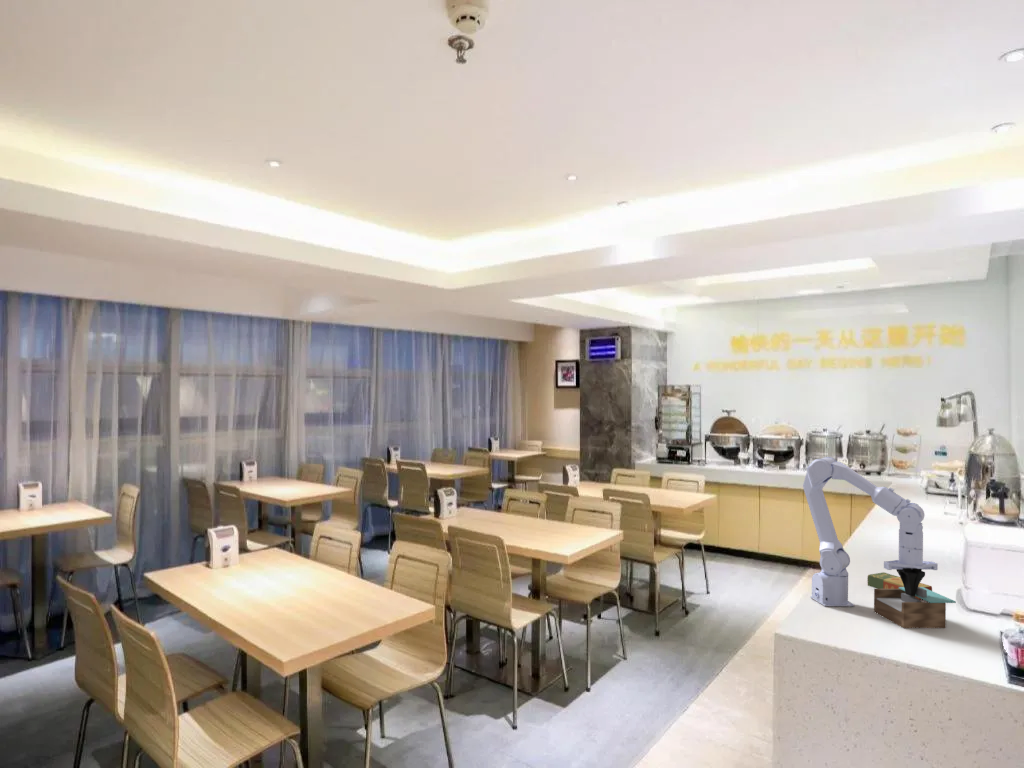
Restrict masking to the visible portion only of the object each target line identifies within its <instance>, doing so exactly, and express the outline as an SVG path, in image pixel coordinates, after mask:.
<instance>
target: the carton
mask: <svg viewBox="0 0 1024 768" xmlns="http://www.w3.org/2000/svg"><path fill="white" fill-rule="evenodd" d="M867 586H868V587H871V588H873V589H899V587H904V585H903V582H902V580H901V577H900V576H897V575H894V574H891V573H887V572H884V571H882V572H876V573H871V574H868V575H867ZM918 587H924V588H926V589H928V590H931V591H933V587H932V585H929V584H926V583H922V582H920V583H919V585H918ZM915 598H917V599H919V600H921V598H919V597H916V596H915ZM921 601H922V600H921Z"/></svg>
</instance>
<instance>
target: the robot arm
mask: <svg viewBox="0 0 1024 768" xmlns="http://www.w3.org/2000/svg"><path fill="white" fill-rule="evenodd" d="M831 479H832V480H838V481H839V480H840V481H845V482H847V483H849V484H850V485H852V486H854V487H856V488H857V489H858V490H860V491H863V492H864V493H866V494H867V495H869V496H870V497H871V502H872V503H874V504H875V505H876V506H878V507H880V508H881V509H883V510H885V511H886V512H888V513H889V514H891V515H892V516H893V517H894V516H896V519H897V520H898V522H899V529H898V559H895V560H889V561H883V569H885V570H887V571H892V570H896V572H897V573H898V575H899V577H901V580H902V582H903V585H904V588H905V592H906V594H907V595H909V596H915V594H916V591H917V588H918V585H919V583H922V580H923V578H925V576H926V572H925V571H923V570H933V571H938V569H939V567H938V564H939V563H937V562H934V561H928V560H927V561H926V560H924V532H923V529H924V526H923V521H924V518H925V511H924V509H923V507H921V506H920V505H919V504H917V503H915V502H911V500H910V499H909V498H907V499H906V498H904V497H902V496H901V495H900V494H898V493H896V492H895V489H894V488H892V487H887V486H877V485H875V484H874V483H872V482H871V481H870V480H868V479H867V478H865V477H864V476H863V475H861V474H860V473H858V472H856V471H855V470H854V469H852V468H851V467H849V466H848V465H846V464H845V463H843V462H841V461H838V460H837V459H835V458H834V457H831V456H824V457H822V458H821V457H820V458H816V459H814V460H812V461H811V462H810V463H809V465H808V466H807V467H806V473H805V477H804V481H803V484H802V488H803V491H804V495H805V498H806V501H807V506H808V508H809V511H810V515H811V518H812V521H813V525H814V528H815V531H816V534H817V537H818V541H819V549H818V552H819V557H820V558H819V565H820V569H821V571H820V572H816V573H815V572H814V574H813V575H812V577H811V595H810V597H809V598H810V599H813V600H814V601H816V602H817V603H819V605H820V604H821V605H822V606H823V607H855V606H856V604H854V603H853V602H851V601H849V572H848V570H847V568H848V567H849V566H850V563H851V558H850V556H849V553H848V552H846V550H845V549H844V547H843V544H842V542H841V541H840V540H839V539H838V535H837V532H836V529H835V525H834V522H833V518H832V516H831V512H830V510H829V507H828V504H827V500H826V497H825V494H824V491H823V489H824V487H825V486H826V484H827V483H828V481H830V480H831Z"/></svg>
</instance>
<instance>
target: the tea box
mask: <svg viewBox="0 0 1024 768" xmlns="http://www.w3.org/2000/svg"><path fill="white" fill-rule="evenodd" d="M873 591H874V592H873V613H875V612H876V613H875V614H877V613H878V614H877V615H879V616H880V615H881V617H882V616H883V617H882V618H883V619H886V620H888V621H889V622H891V623H893V624H896V625H897V626H899V627H900V626H901V627H900V628H902V627H903V628H902V629H946V625H947V624H946V615H947V614H946V613H947V612H946V610H947V603H929V602H927V601H924V602H923V601H921V602H902V612H901V611H899V610H897V609H895V608H893V607H891V606H889V605H887V604H885V603H883V602H881V601H879V600H877V598H901V593H906V592H905V591H903V590H901V589H877V588H873ZM912 597H914V598H915V596H912Z"/></svg>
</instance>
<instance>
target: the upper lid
mask: <svg viewBox="0 0 1024 768" xmlns="http://www.w3.org/2000/svg"><path fill="white" fill-rule="evenodd" d="M899 589H901V590H903V591H905V588H904V587H899ZM915 596H916V597H919V598H921V599H923V600H922V601H924V602H929V603H946V604H956V603H957V601H956V600H953V599H951V598H949V597H946V596H944V595H942V594H940V593H937V592H935V591H934V590H932V591H931V590H928V589H926V588H924V587H918V588H917V591H916V594H915Z"/></svg>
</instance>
